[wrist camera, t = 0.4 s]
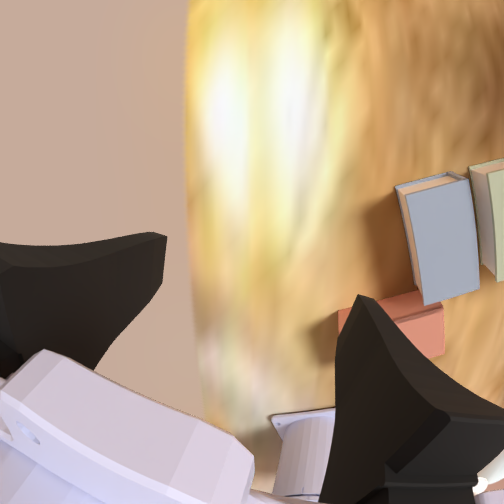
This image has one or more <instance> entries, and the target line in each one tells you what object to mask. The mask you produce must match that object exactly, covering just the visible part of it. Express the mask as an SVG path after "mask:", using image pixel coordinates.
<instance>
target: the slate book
mask: <svg viewBox="0 0 504 504" xmlns="http://www.w3.org/2000/svg"><path fill="white" fill-rule="evenodd" d="M395 189H396V193H397V197H398V201H399V205H400V210H401V214H402V219H403V223H404V228H405V233H406V238H407V243H408V249H409V254H410V260H411V266H412V272H413V279H414V285H417V286H418V288H419V290H420V292H421V294H422V297H423V304H424V306H426V305H429V304H433V303H436V302H440V301H443V300H446V299H449V298H453V297H456V296H459V295H462V294H465V293H468V292H471V291H474V290H477V289H480V284H479V260H478V246H477V235H476V226H475V217H474V210H473V203H472V196H471V190H470V184H469V179H468V178H465V177H463V176H461V175H458V174H456V173H454V172H451V171H449V172H446V173H442V174H438V175H434V176H430V177H427V178H423V179H419V180H415V181H412V182H408V183H404V184H401V185H397V186H395Z"/></svg>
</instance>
